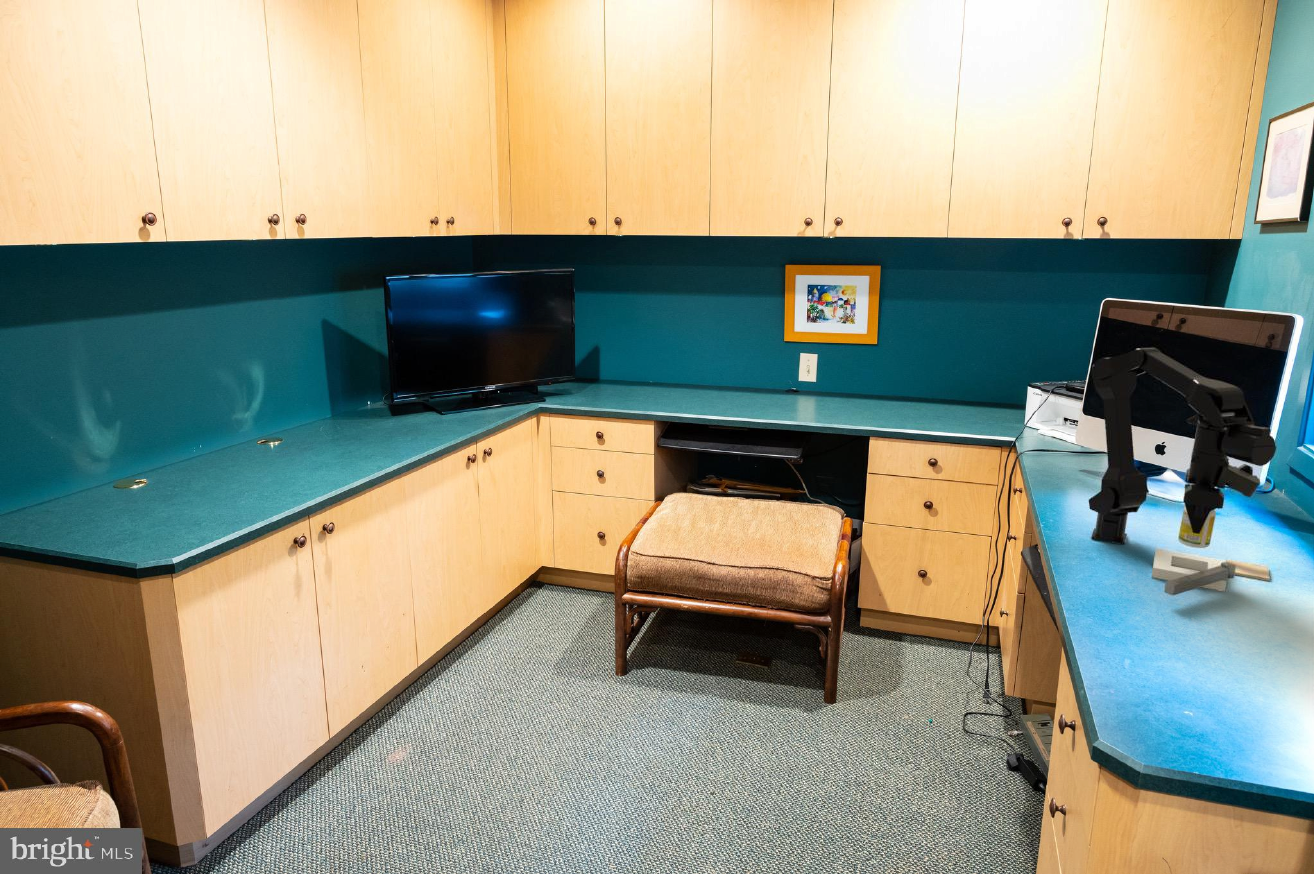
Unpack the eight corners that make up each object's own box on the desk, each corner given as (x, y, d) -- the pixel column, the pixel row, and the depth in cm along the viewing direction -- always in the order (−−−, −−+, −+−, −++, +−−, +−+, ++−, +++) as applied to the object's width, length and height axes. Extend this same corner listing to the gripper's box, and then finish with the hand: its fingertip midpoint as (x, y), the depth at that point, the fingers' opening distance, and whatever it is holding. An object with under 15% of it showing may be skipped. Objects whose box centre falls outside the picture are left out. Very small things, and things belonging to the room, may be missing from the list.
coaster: (1225, 561, 177) (1226, 559, 176) (1267, 568, 173) (1267, 566, 173) (1226, 573, 171) (1226, 570, 171) (1269, 581, 167) (1269, 578, 167)
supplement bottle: (1187, 548, 166) (1196, 501, 164) (1172, 538, 171) (1180, 492, 169) (1215, 549, 166) (1225, 501, 164) (1199, 538, 171) (1207, 492, 169)
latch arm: (1223, 572, 165) (1225, 561, 165) (1236, 576, 163) (1238, 566, 163) (1161, 591, 156) (1163, 580, 156) (1174, 596, 154) (1176, 585, 154)
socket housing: (1154, 557, 178) (1156, 548, 178) (1223, 569, 172) (1225, 560, 172) (1151, 577, 168) (1153, 567, 168) (1224, 591, 162) (1226, 581, 162)
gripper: (1264, 470, 152) (1247, 553, 156) (1259, 446, 168) (1244, 522, 171) (1190, 460, 158) (1176, 540, 162) (1192, 438, 173) (1179, 512, 177)
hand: (1196, 528), depth 168 cm, fingers closed on supplement bottle, 5 cm apart
